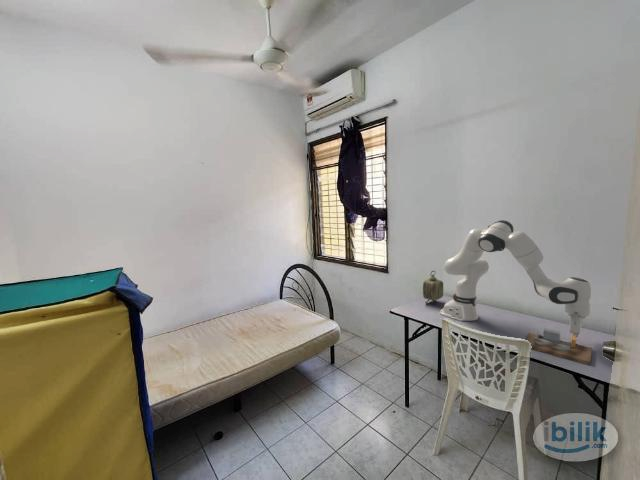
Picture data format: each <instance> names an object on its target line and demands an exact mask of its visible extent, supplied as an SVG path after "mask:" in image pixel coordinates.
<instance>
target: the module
mask: <svg viewBox="0 0 640 480" xmlns="http://www.w3.org/2000/svg"><path fill="white" fill-rule="evenodd" d="M542 335H543V340H547V341H551V342H555V343H559V344H560V339H561V332H560V331H558V330H554V329H549V328H543V334H542Z"/></svg>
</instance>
